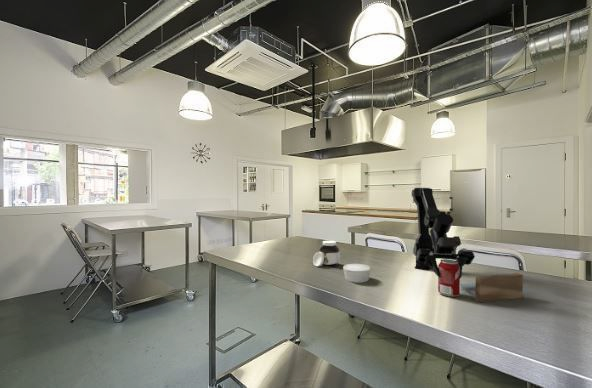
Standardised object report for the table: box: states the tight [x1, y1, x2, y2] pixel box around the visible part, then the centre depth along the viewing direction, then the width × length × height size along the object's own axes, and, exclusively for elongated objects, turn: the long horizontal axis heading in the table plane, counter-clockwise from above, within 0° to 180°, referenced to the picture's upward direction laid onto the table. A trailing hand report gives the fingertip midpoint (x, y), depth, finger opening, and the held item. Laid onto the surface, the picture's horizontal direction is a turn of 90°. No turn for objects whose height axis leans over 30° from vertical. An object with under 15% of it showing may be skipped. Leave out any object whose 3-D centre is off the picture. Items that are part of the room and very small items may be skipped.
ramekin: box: [342, 263, 371, 284], centre depth 114 cm, size 11×11×5 cm
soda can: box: [437, 259, 461, 298], centre depth 98 cm, size 7×7×12 cm
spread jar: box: [312, 240, 341, 268], centre depth 136 cm, size 12×11×12 cm
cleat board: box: [460, 272, 524, 303], centre depth 99 cm, size 12×18×8 cm, turn 103°
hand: (449, 277), depth 96 cm, fingers closed on soda can, 6 cm apart
